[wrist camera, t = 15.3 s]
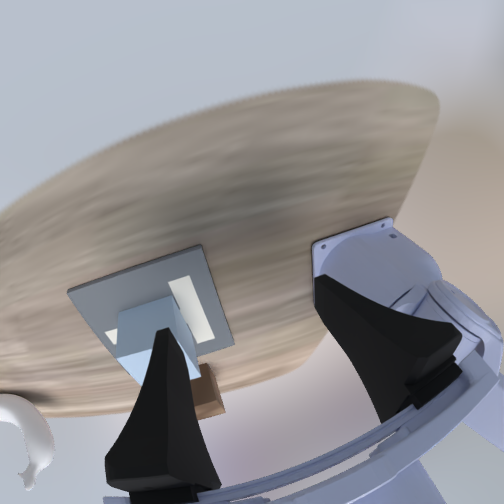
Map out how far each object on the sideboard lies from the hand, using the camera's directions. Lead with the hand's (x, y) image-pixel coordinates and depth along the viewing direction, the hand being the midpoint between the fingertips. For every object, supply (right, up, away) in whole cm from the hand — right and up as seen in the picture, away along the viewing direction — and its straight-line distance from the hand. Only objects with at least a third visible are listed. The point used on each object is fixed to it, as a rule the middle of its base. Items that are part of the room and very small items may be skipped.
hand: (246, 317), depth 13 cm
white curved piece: (-34, -17, +10) cm, 39 cm away
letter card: (-8, -3, +10) cm, 14 cm away
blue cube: (-8, -3, +10) cm, 13 cm away
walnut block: (-6, -11, +13) cm, 18 cm away
